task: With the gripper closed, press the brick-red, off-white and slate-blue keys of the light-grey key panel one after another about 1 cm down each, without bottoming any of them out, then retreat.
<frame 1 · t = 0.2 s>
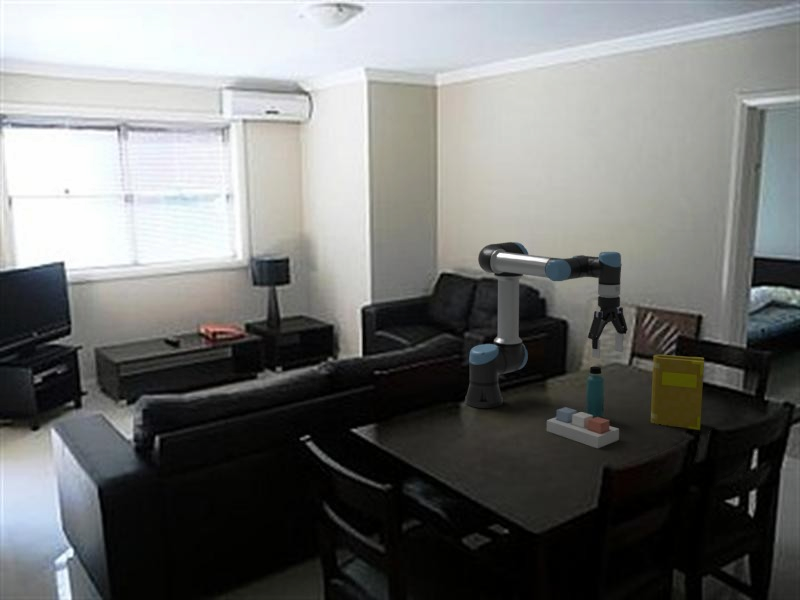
hand: (607, 354, 247), 27 cm above the table, fingers open, 13 cm apart
red key: (598, 427, 238), point 5 cm above the table, slide at 0.0 cm
book: (675, 424, 254), on the table
beverage bottle: (594, 418, 261), on the table
white key: (582, 421, 244), point 5 cm above the table, slide at 0.0 cm
blue key: (566, 416, 249), point 5 cm above the table, slide at 0.0 cm
key panel: (581, 435, 244), on the table
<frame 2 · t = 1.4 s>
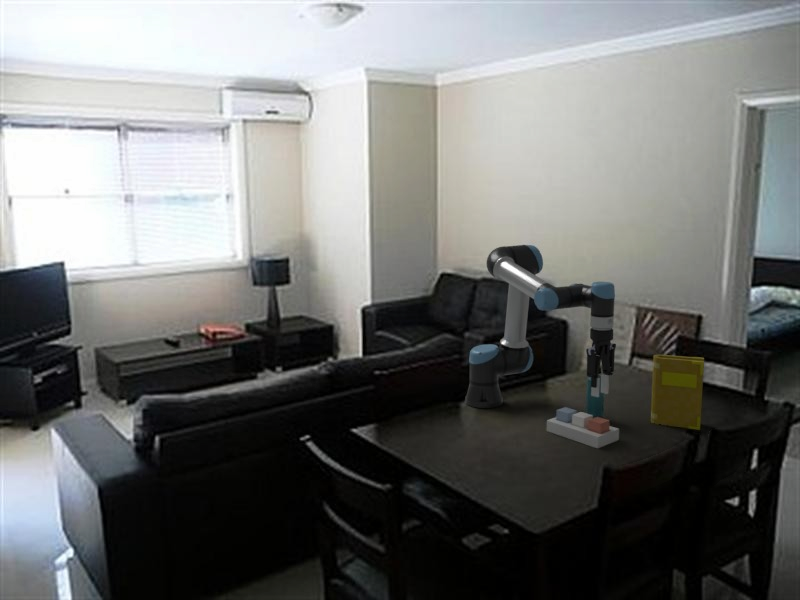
hand: (599, 394, 236), 17 cm above the table, fingers open, 4 cm apart
nothing on the table moved.
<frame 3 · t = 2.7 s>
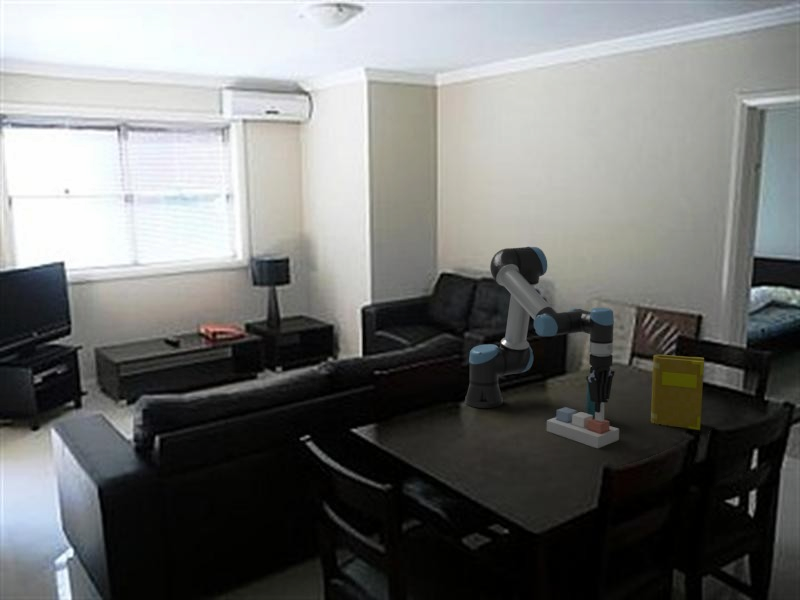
hand: (599, 420, 237), 7 cm above the table, fingers closed
red key: (598, 427, 238), point 5 cm above the table, slide at 0.3 cm, touching gripper
everything else where it was.
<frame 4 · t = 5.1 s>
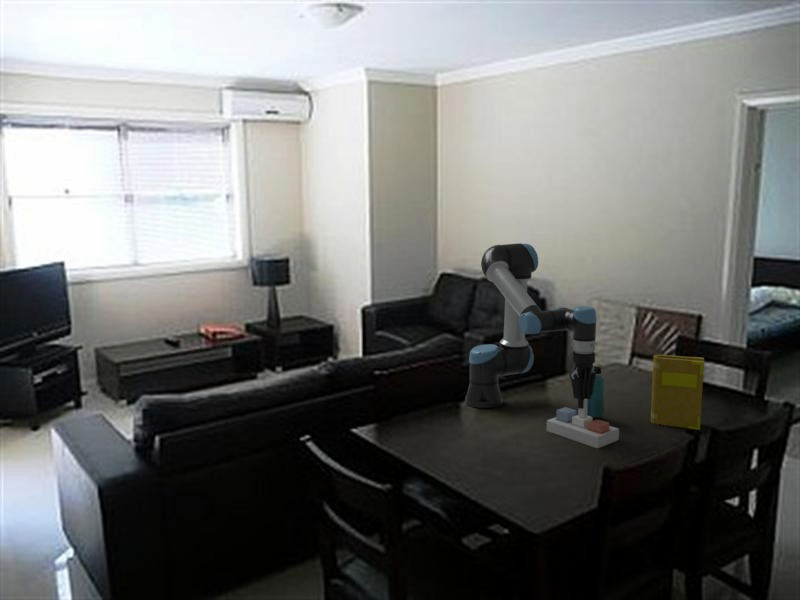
hand: (582, 416, 243), 7 cm above the table, fingers closed
red key: (598, 429, 238), point 4 cm above the table, slide at 1.0 cm
white key: (582, 423, 244), point 4 cm above the table, slide at 0.8 cm, touching gripper
everything else where it was.
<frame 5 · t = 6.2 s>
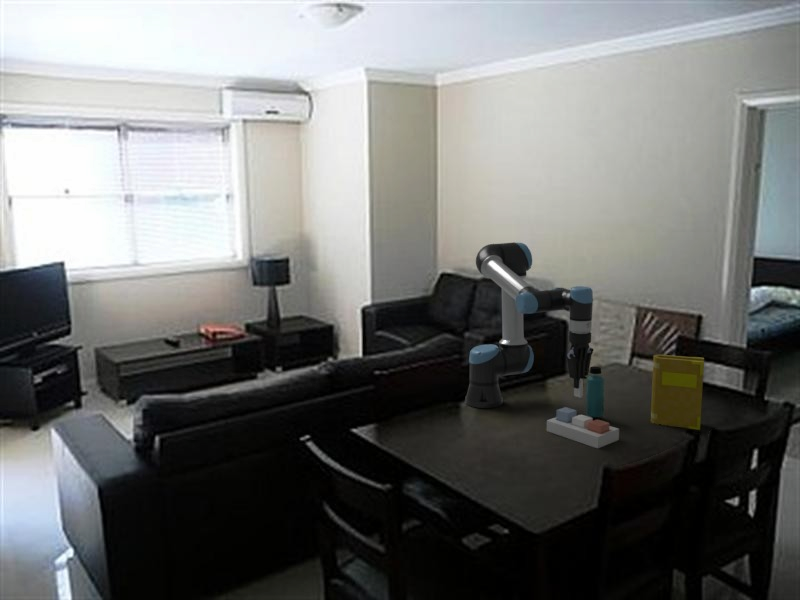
hand: (578, 396, 244), 14 cm above the table, fingers closed
white key: (582, 424, 244), point 4 cm above the table, slide at 1.0 cm
everything else where it was.
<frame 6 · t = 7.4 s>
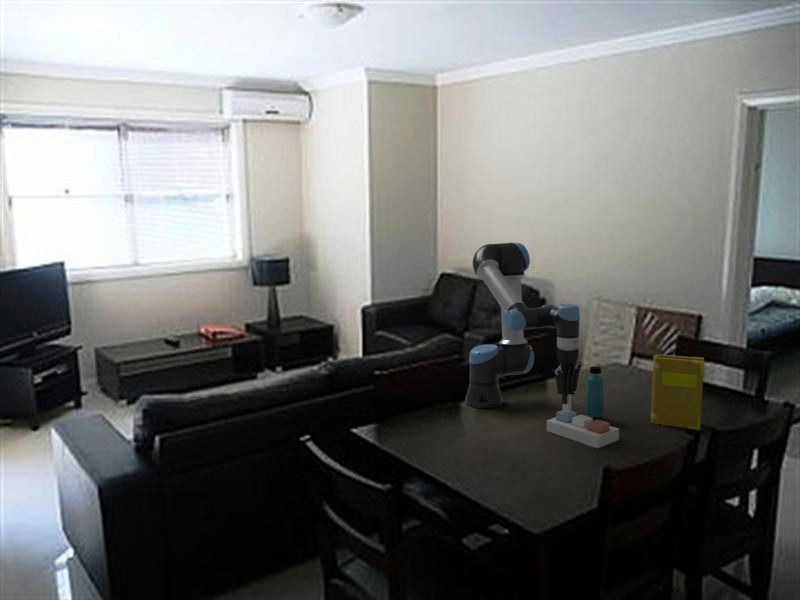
hand: (566, 411, 249), 7 cm above the table, fingers closed
blue key: (566, 419, 249), point 4 cm above the table, slide at 0.8 cm, touching gripper
everything else where it was.
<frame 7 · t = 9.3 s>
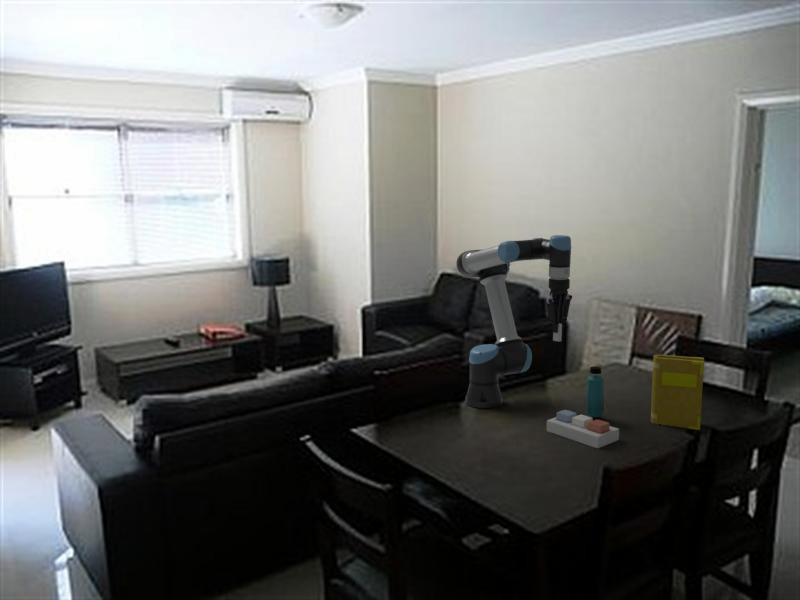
hand: (557, 340, 256), 31 cm above the table, fingers closed
blue key: (566, 419, 249), point 4 cm above the table, slide at 1.0 cm
everything else where it was.
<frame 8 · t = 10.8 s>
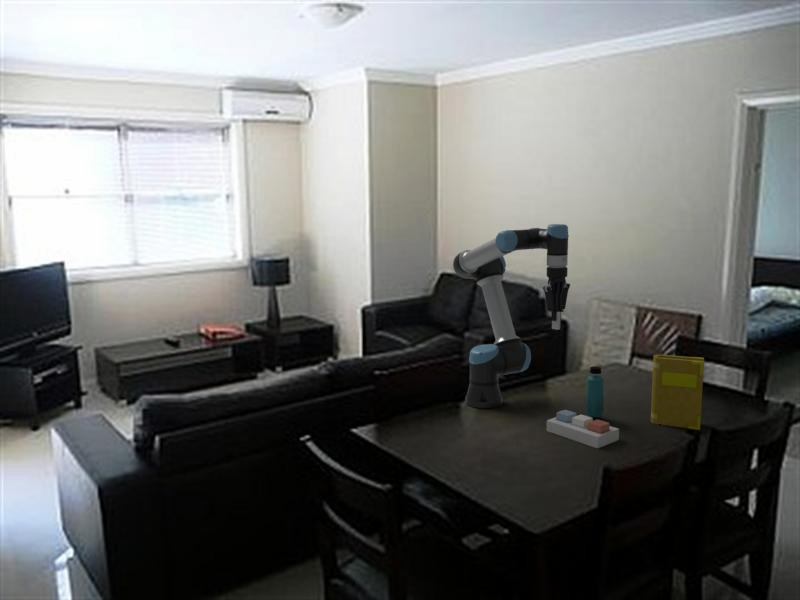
hand: (555, 328, 258), 34 cm above the table, fingers closed
nothing on the table moved.
at the end: red key slide at 1.0 cm; white key slide at 1.0 cm; blue key slide at 1.0 cm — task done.
